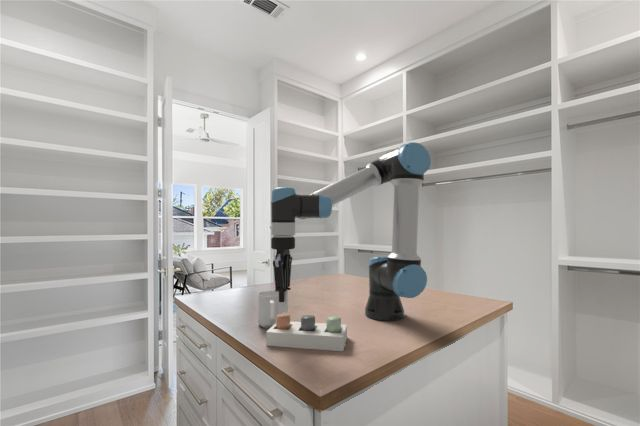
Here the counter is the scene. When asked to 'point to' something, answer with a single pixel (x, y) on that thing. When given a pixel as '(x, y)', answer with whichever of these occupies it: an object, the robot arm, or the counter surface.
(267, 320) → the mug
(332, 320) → the button sage
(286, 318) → the button terracotta
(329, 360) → the counter surface
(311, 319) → the button charcoal
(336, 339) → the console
